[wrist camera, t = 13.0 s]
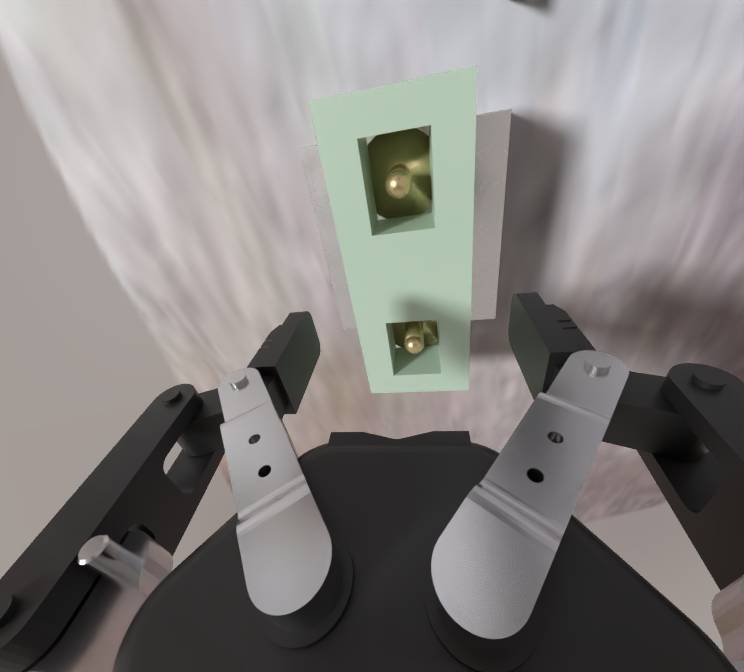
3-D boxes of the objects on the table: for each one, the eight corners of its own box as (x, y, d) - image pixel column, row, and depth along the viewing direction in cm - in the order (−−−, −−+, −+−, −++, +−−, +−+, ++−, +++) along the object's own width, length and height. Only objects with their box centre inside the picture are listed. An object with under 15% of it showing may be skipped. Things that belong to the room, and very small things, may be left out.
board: (325, 105, 14) (308, 101, 12) (465, 75, 13) (477, 65, 11) (375, 364, 23) (371, 393, 21) (462, 360, 22) (468, 389, 20)
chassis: (304, 143, 19) (254, 153, 13) (504, 105, 17) (555, 95, 11) (346, 322, 27) (327, 381, 21) (491, 311, 25) (516, 373, 18)
